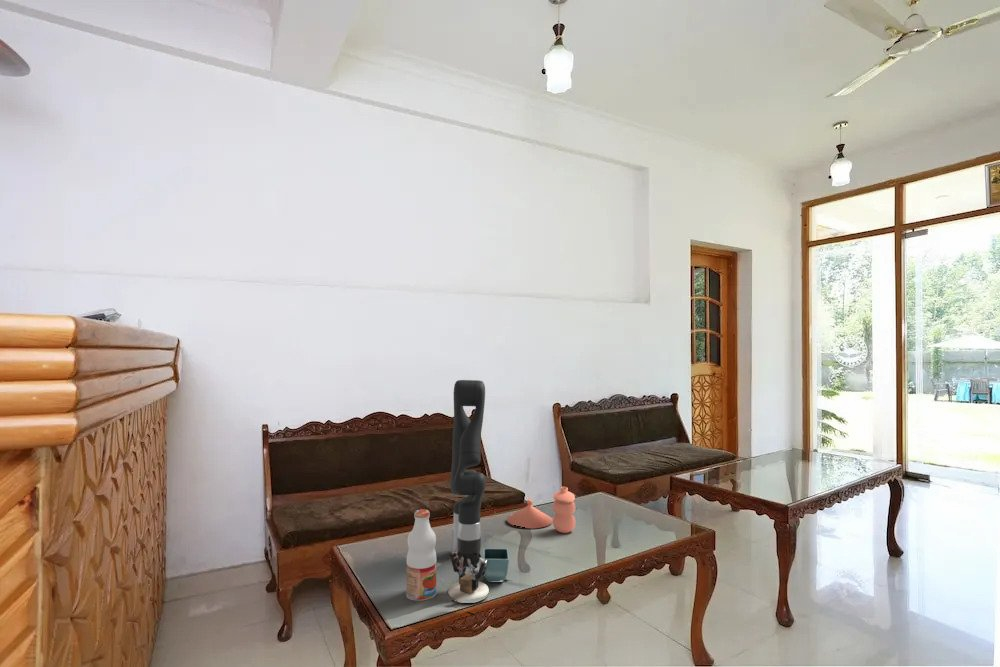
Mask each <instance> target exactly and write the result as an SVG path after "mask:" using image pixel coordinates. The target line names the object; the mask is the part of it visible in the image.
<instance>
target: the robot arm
mask: <svg viewBox="0 0 1000 667" xmlns="http://www.w3.org/2000/svg"><path fill="white" fill-rule="evenodd" d="M453 385H454V387H453V427H452V429H453V430H452V447H451V448H452V449H451V450H452V452H451V454H452V458H451V459H452V461H451V468H450V469H451V470H450V479H449V488H450V491H451V493H452V494H453V495H458V496H465V497H464V498H462V499H461V500H458V501H456V502H455V503H454V504H453V528H452V529H453V530H451V531H450V532H451V533H450V534H451V535H450V538H451V539H450V544H451V545H450V554H449V557H450V561H451V564H452V569H453V572H454V573H457V574H458V582H459V584H460V578H462V577H463V576H465V575H466V574H467V573H466V572H467V571H466V570H467V568H468V569H469V572H470V575H472V591H475V590H476V589H477V588H478V584H479V580H482V578H483V577H485V571H486V568H487V565H488V560H484V559H483V557H482V554H481V547H482V524H481V507H482V506H481V505H482V502H483V501H482V500H483V497H484V494H485V489H486V485H487V479H486V476H485V475H484V473H482V472H477V471H476V470H475V469H468V468H472V467H475V466H476V467H477V466H478V465H479V464H481V458H482V457H481V454H482V453H481V452H482V451H481V449H482V447H481V443H482V442H481V439H482V428H483V421H484V411H485V403H486V401H485V400H486V386H485V383H484V381H483V380H473V379H472V380H471V379H459V380H457V381H455V383H454V384H453ZM464 407H475V410H474V414H473V417H471V419H470V418H469V416H468V415H467V413H466V412H465V409H464Z"/></svg>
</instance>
